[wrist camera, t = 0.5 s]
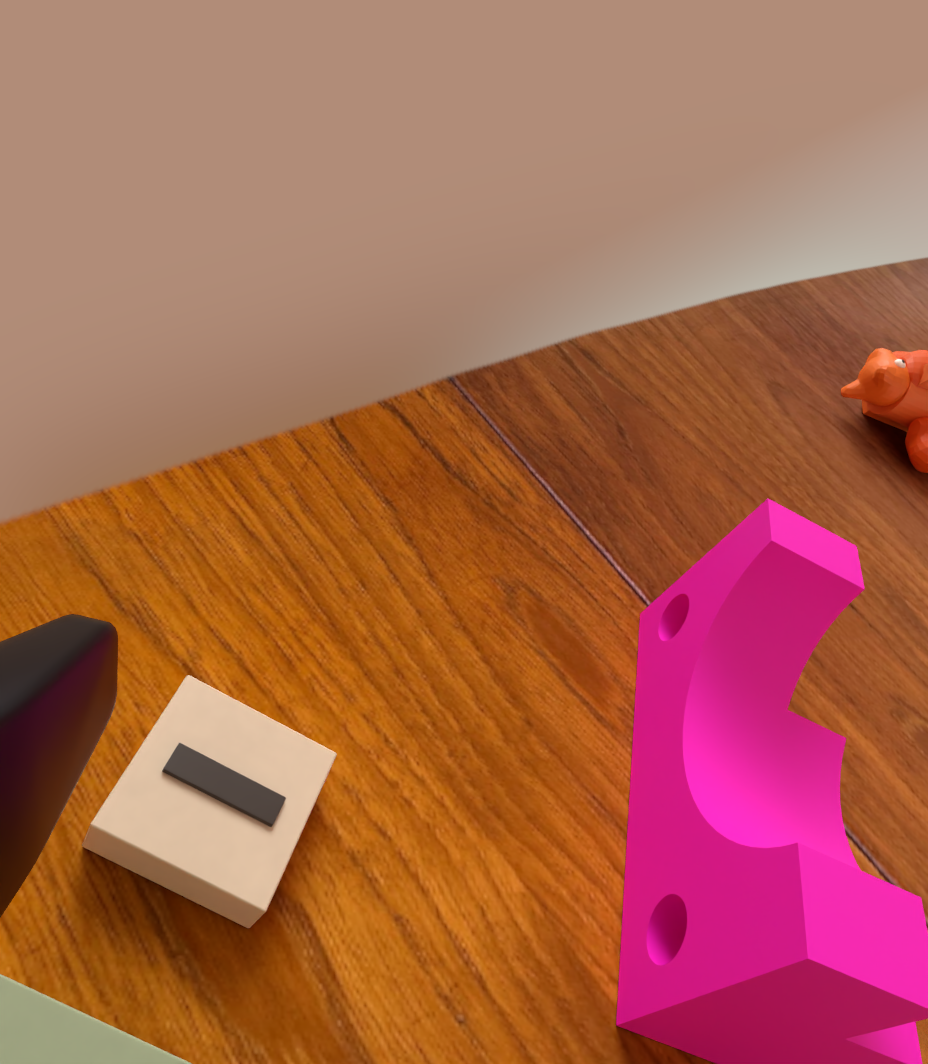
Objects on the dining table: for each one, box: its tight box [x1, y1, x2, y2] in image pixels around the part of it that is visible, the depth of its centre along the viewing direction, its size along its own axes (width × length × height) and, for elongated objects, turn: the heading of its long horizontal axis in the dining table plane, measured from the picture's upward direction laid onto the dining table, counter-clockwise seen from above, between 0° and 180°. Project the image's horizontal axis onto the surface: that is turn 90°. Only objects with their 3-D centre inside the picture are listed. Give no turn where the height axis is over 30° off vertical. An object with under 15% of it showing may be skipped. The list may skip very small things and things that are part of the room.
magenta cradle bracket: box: [616, 499, 928, 1064], centre depth 27 cm, size 15×6×8 cm, turn 168°
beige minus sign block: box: [82, 675, 337, 928], centre depth 22 cm, size 4×4×2 cm
